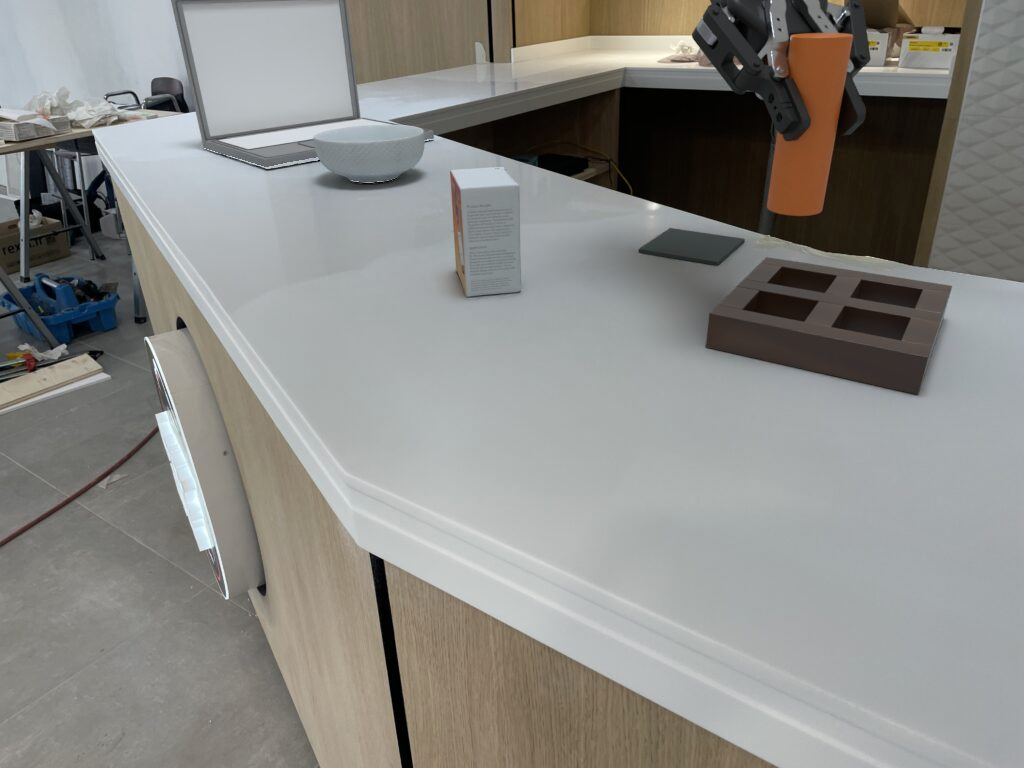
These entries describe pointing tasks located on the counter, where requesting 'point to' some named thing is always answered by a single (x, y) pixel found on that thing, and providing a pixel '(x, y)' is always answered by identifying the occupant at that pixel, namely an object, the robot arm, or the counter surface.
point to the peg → (808, 159)
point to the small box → (486, 230)
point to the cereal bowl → (370, 151)
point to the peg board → (833, 322)
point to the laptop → (269, 75)
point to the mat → (692, 246)
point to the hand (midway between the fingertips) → (826, 130)
